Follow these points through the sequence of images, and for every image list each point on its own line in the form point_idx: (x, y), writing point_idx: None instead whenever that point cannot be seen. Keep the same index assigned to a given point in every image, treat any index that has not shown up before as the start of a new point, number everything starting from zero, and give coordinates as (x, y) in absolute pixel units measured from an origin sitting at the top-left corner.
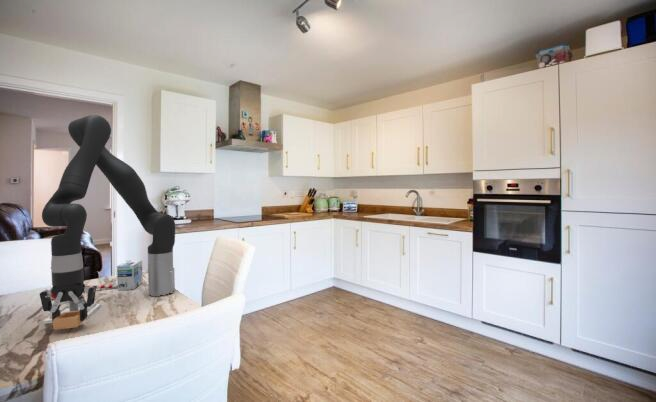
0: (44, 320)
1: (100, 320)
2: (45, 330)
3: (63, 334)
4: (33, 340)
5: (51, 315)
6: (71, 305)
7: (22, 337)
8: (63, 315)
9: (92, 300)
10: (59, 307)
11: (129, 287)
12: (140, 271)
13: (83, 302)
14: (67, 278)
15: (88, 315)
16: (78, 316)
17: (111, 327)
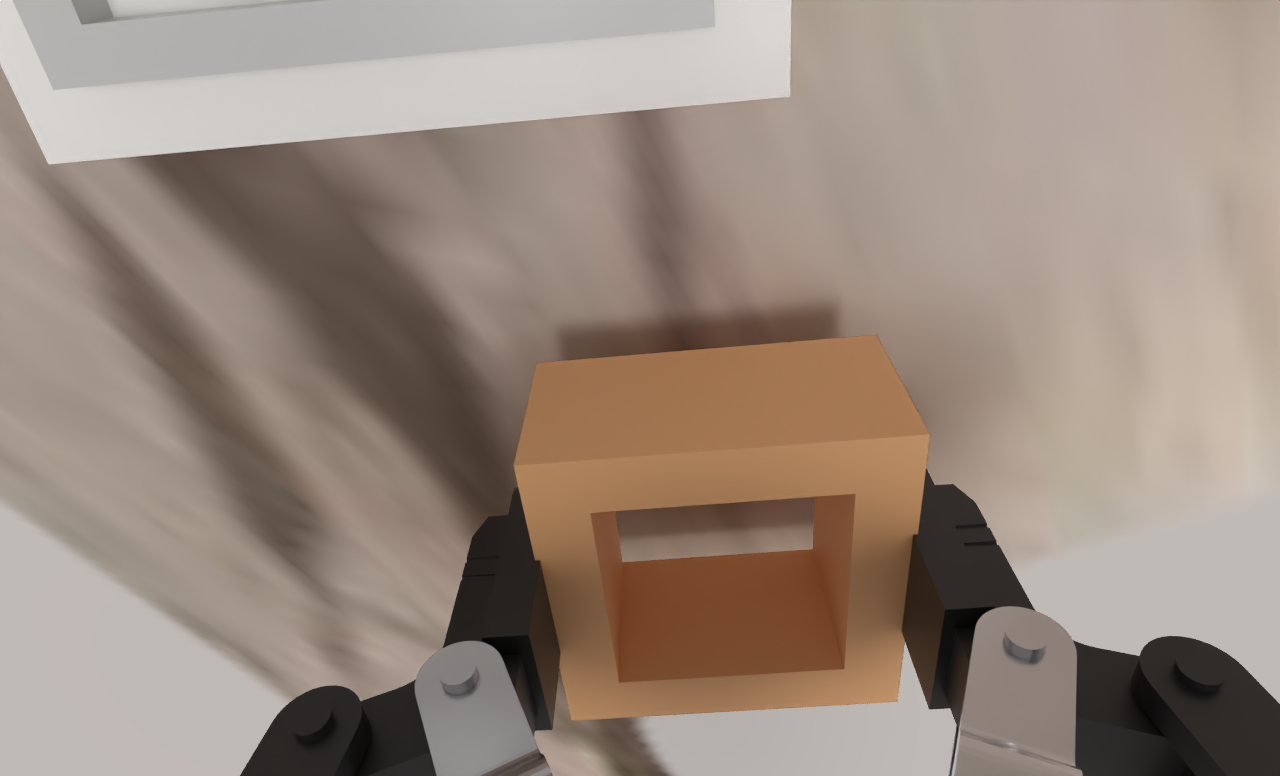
0: (63, 153)
1: (1040, 179)
2: (365, 406)
3: (694, 549)
4: (448, 623)
5: (40, 31)
6: None
7: (244, 544)
8: (601, 563)
9: (1249, 751)
10: (510, 683)
11: None
12: None
13: (1024, 736)
14: None
15: (790, 4)
16: (898, 658)
17: (1232, 466)
